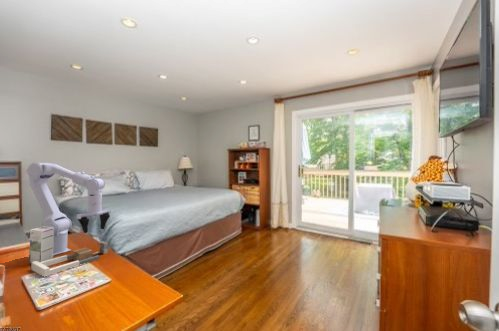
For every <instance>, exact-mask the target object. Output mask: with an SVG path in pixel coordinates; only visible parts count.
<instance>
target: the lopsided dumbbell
mask: <svg viewBox="0 0 499 331" xmlns="http://www.w3.org/2000/svg"><path fill="white" fill-rule="evenodd" d="M108 246H109V243H108V242H106V241H103V240H102V241H100V242H99V250H97V251H95V252H93V250H92V249H90V248H88V247H83V248H79V249H74V250H73V251H72V254H73V259H72V260H73V262H74V261H77V260H78V261H81V260H84V259H87V258H90V257H93V256H94V255H99V254H103V255H105V254H108V253H109V252H108V251H109V250H108V249H109V247H108Z"/></svg>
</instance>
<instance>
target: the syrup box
mask: <svg viewBox="0 0 499 331" xmlns="http://www.w3.org/2000/svg"><path fill="white" fill-rule="evenodd" d="M53 240H54V227H44V225H43V226H37V227H35V228H31V229H30V231H29V263H30V264H32V262H34V261H38V262H43V261H46V260H50V259H53V258H54V255H53Z"/></svg>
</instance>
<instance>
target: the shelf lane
mask: <svg viewBox="0 0 499 331" xmlns="http://www.w3.org/2000/svg"><path fill="white" fill-rule="evenodd" d="M67 256H68V255H67V254H65V255H61V256H56V257H53V259H50V260H46V261H43V262H38V261H34V262H32V263H31V265H30V266H31V269H30V270H31V271H33V272H34V273H36V274H38V273H39V275H40V274H41V275H43V276H44V277H43V276H42V277H43V278H46V277H45V276H47V277H49V276H48V275H50V276H52V275H51V274H53V273H56V274H58V273H57V272H59V273H61V272H60V271H62V272H64V271H63V270H65V269H68V268H71V267H74V266H77V267H79V266H78V265H79V261H78V260H77V261H74V260H73V261H71V262H68V263H65V264H64V263H63V264H61V265H58V266H54V267H52V268H50V267H49V266H52V265H56V264H59V263H62V262H66V261H68V260H67ZM74 268H75V267H74ZM71 269H72V268H71ZM68 270H69V269H68ZM65 271H66V270H65ZM41 275H40V276H41ZM53 275H54V274H53Z"/></svg>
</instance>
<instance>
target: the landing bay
mask: <svg viewBox="0 0 499 331" xmlns="http://www.w3.org/2000/svg"><path fill="white" fill-rule="evenodd" d="M69 260H73V253H71V254H68V255H67V260H66V261H69ZM97 260H98V261H99V260H100V255H99V254H96V255H95V256H94V255H92V257H90V258H87V259H84V260H81V261H79V265H80V264H83V263H86V264H88V263H87V262H89V263H92V262H95V261H97ZM83 265H84V264H83ZM80 266H81V265H80Z"/></svg>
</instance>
